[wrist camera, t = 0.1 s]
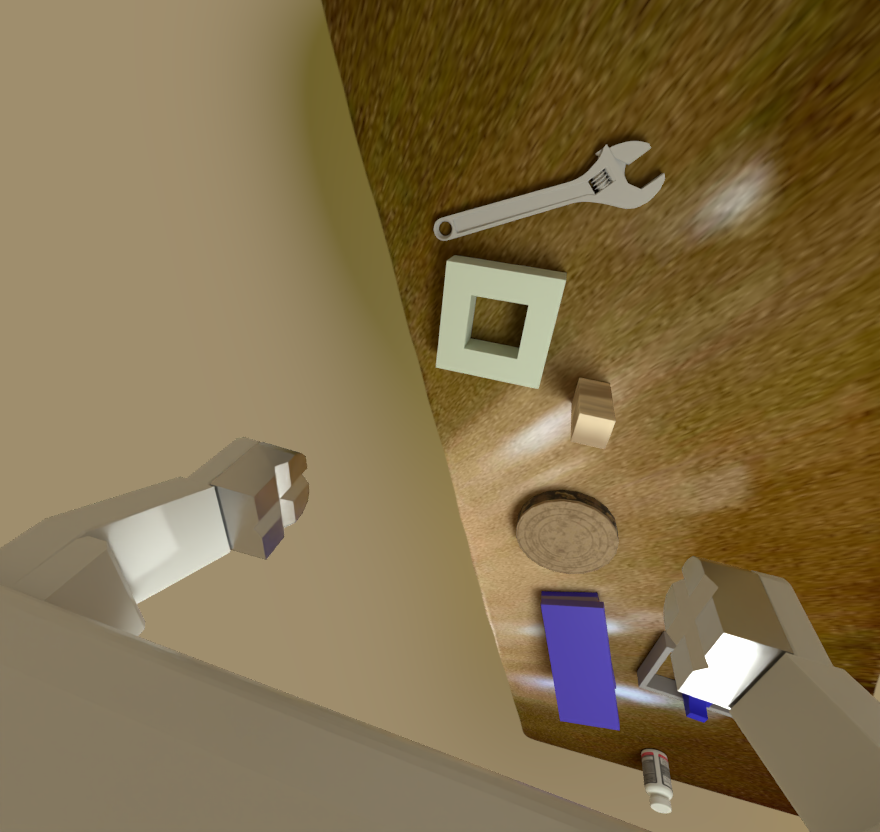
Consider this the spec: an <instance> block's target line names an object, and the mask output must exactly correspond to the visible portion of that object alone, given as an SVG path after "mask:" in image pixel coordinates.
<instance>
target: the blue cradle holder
mask: <svg viewBox="0 0 880 832" xmlns="http://www.w3.org/2000/svg"><path fill="white" fill-rule="evenodd" d="M682 696H683V701H684V706H685V711H686V716H687V717H690V718H692V719H695V720H698V721H701V722H705V721H706V720H707V719H708V717H707V709H706V707H708V708H709V707H710V706H711V705H712V704H713V703H710V702H707V701H705V700H702V699H699V698H696V697H693V696H690V695H687V694H684V693H682Z"/></svg>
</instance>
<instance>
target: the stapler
mask: <svg viewBox="0 0 880 832" xmlns="http://www.w3.org/2000/svg"><path fill="white" fill-rule="evenodd" d="M541 609H542V615H543V621H544V627H545V633H546V639H547V645H548V651H549V656H550V662H551V668H552V674H553V680H554V686H555V692H556V698H557V704H558V710H559V716H560V721H564V722H570V723H577V724H583V725H589V726H595V727H602V728H608V729H614V730H620V729H619V717H618V710H617V702H616V694H615V689H616V682H615V678H614V673H613V668H612V663H611V656H610V648H609V640H608V633H607V625H606V617H605V610H604V602H599V599H598V594H597V593H589V592H549V591H542V594H541Z"/></svg>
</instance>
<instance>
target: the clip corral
mask: <svg viewBox="0 0 880 832" xmlns="http://www.w3.org/2000/svg"><path fill="white" fill-rule="evenodd" d="M676 646H677V645H676V644H675V643H674V642H673V640H672V639H671V638H670V637H669V635H668V634H667V633H666V632H665V631H664V632H663V633H662V635H661V636H660V638H659V639H658V641H657V642H656V644H655V645H654V647H653V648H652V650H651V651H650V653H649V654H648V656H647V657H646V659H645V660H644V662H643V663H642V665H641V666H640V668H639V669H638V671H637V676H638V685H639V687H640V688H643V689H646V690H649V691H652V692H655V693H658V694H662V695H665V696H668V697H671V698H674V699H677V700H680V701H683V696H682V692H679V691H678V690H677V685H676V681H675V680H672V679H669V678H666V677H663V676H659V675H656V674H655V673H656V672H657V670H658V669H659V667H660V666H661V665H662V663H663V662H664V660H665V659H666V658H667V656H668V655H669V653H670V652H673V650H674V649H675V647H676ZM683 702H684V701H683ZM706 709H708V710H711V711H714V712H717V713H720V714H723V715H726V716H729V717H732V716H731V714H730V713H729V710H730V709H728V708H725V707H722V706H719V705H716V704H712V705H711V706H710V707H709V708H708V707H706ZM732 718H733V717H732Z"/></svg>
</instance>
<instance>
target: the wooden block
mask: <svg viewBox="0 0 880 832" xmlns="http://www.w3.org/2000/svg"><path fill="white" fill-rule="evenodd" d="M615 422H616V420H615V413H614V407H613V400H612V393H611V387H610V383H605V382H600V381H595V380H590V379H585V378H580V377H579V380H578V384H577V387H576V390H575V394H574V397H573V400H572V410H571V442H575V443H580V444H584V445H588V446H593V447H597V448H601V449H605V448H606V445H607V443H608V440H609V437H610V435H611V432H612V430H613V427H614V424H615Z"/></svg>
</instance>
